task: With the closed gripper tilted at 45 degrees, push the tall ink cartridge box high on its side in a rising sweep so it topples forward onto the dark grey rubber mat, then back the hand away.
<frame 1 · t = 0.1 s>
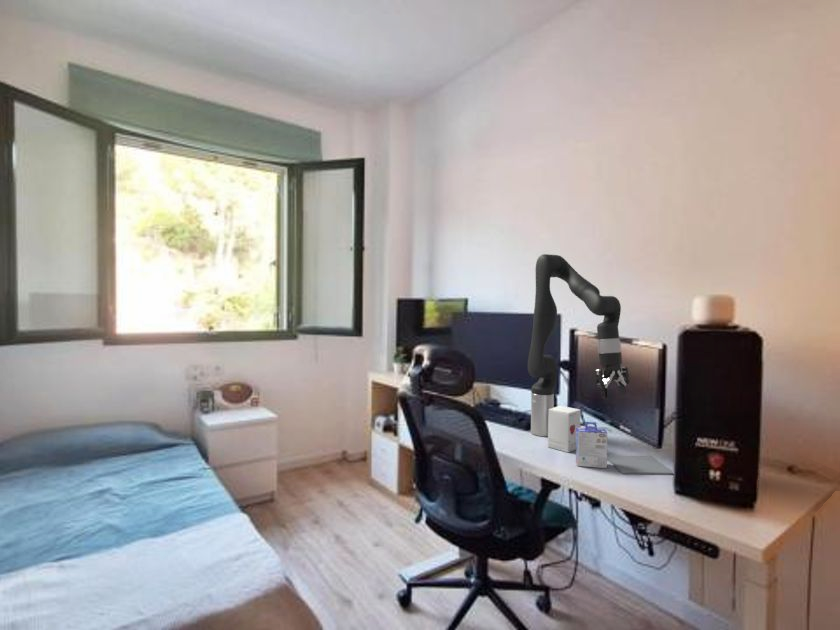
hand: (614, 397, 160), 22 cm above the table, tool pointing down, fingers open, 8 cm apart
ink cartridge box: (590, 465, 157), on the table
supplement box: (563, 448, 175), on the table
mat: (637, 465, 157), on the table
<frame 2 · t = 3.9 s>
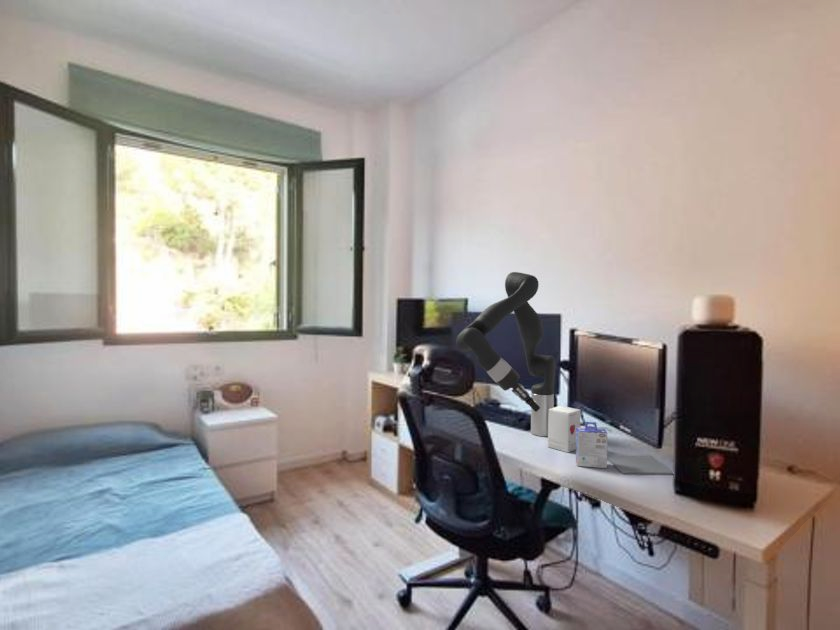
hand: (537, 409, 157), 19 cm above the table, tool tilted 45°, fingers closed
nothing on the table moved.
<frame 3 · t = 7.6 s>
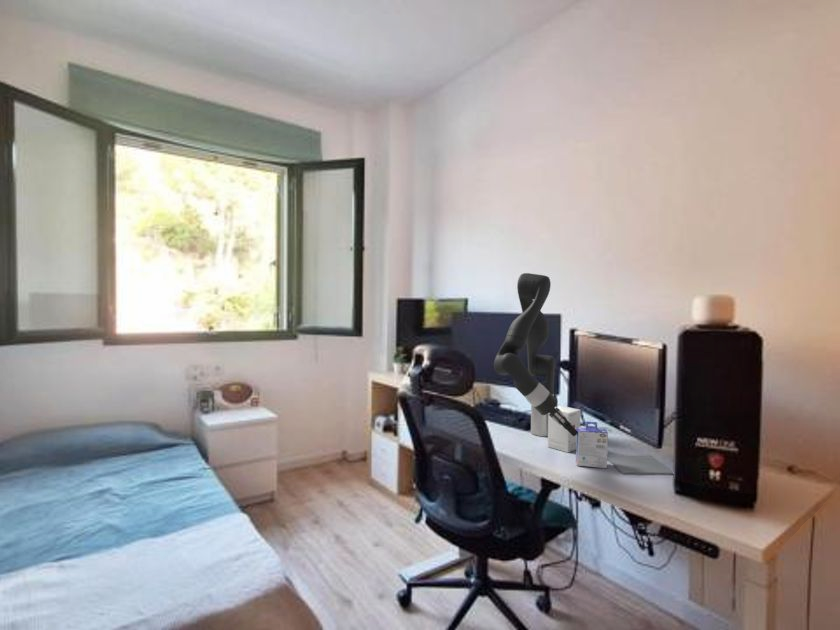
hand: (575, 433, 157), 11 cm above the table, tool tilted 45°, fingers closed
ink cartridge box: (590, 465, 157), on the table, touching gripper
everything else where it was.
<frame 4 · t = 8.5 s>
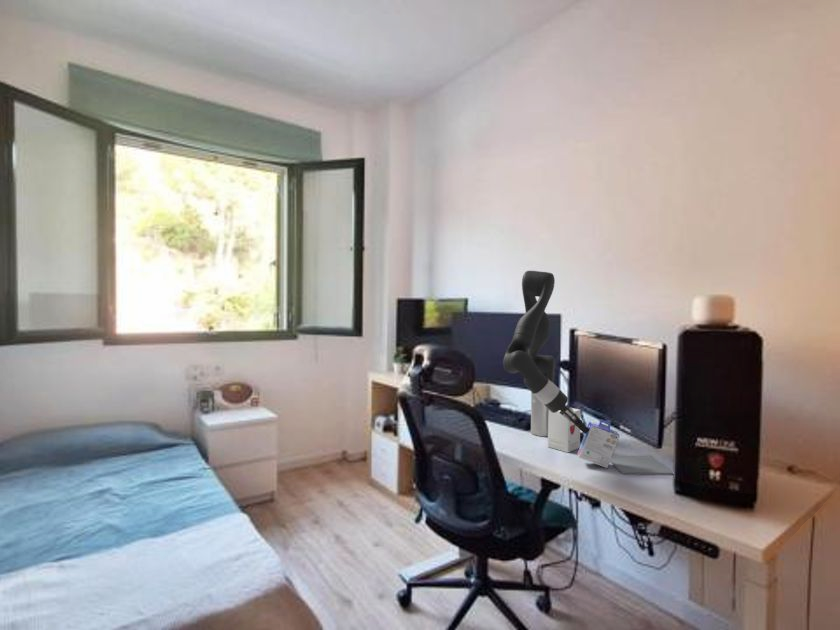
hand: (586, 431, 156), 12 cm above the table, tool tilted 45°, fingers closed
ink cartridge box: (591, 461, 157), point 1 cm above the table, touching gripper
everything else where it was.
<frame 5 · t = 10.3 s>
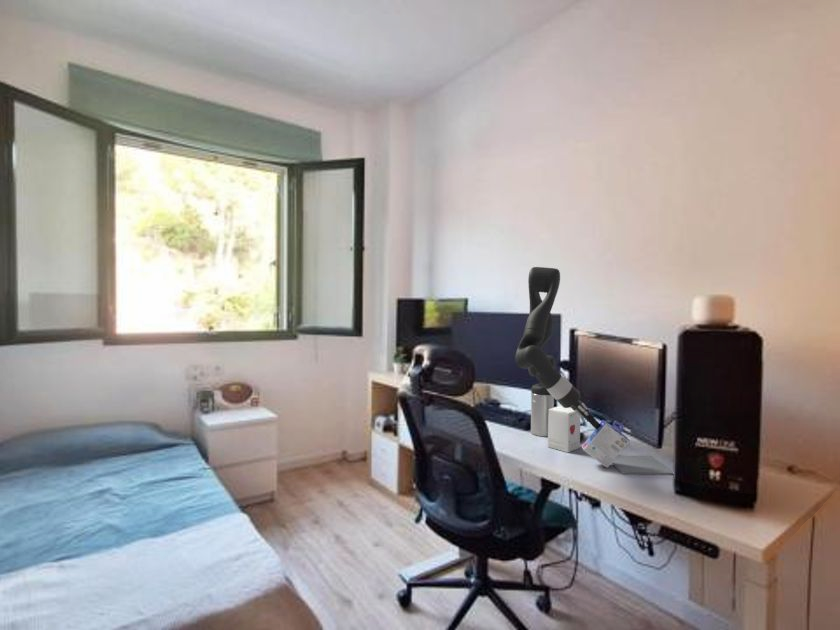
hand: (598, 426, 157), 13 cm above the table, tool tilted 45°, fingers closed
ink cartridge box: (593, 457, 157), point 3 cm above the table
everything else where it was.
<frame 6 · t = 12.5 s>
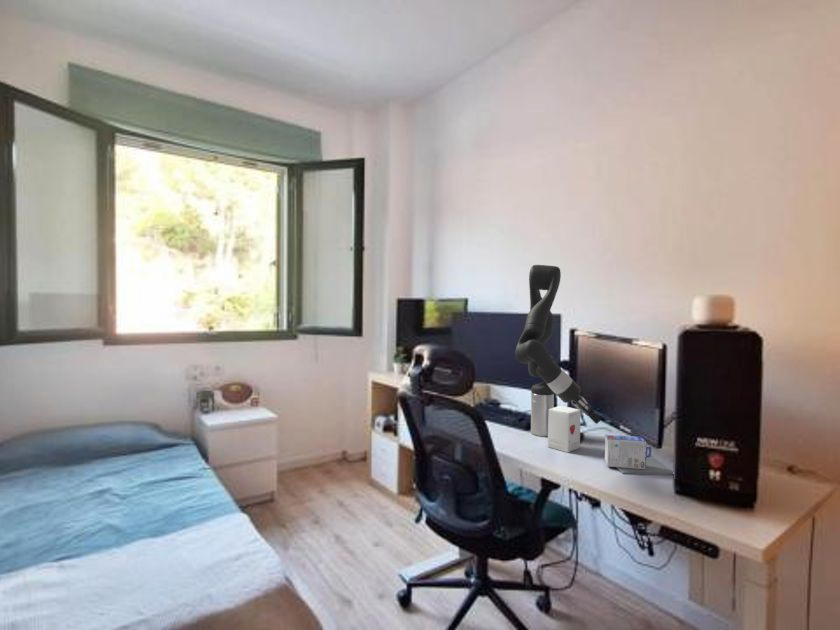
hand: (598, 421, 156), 15 cm above the table, tool tilted 45°, fingers closed
ink cartridge box: (605, 449, 156), point 6 cm above the table, touching mat
everything else where it was.
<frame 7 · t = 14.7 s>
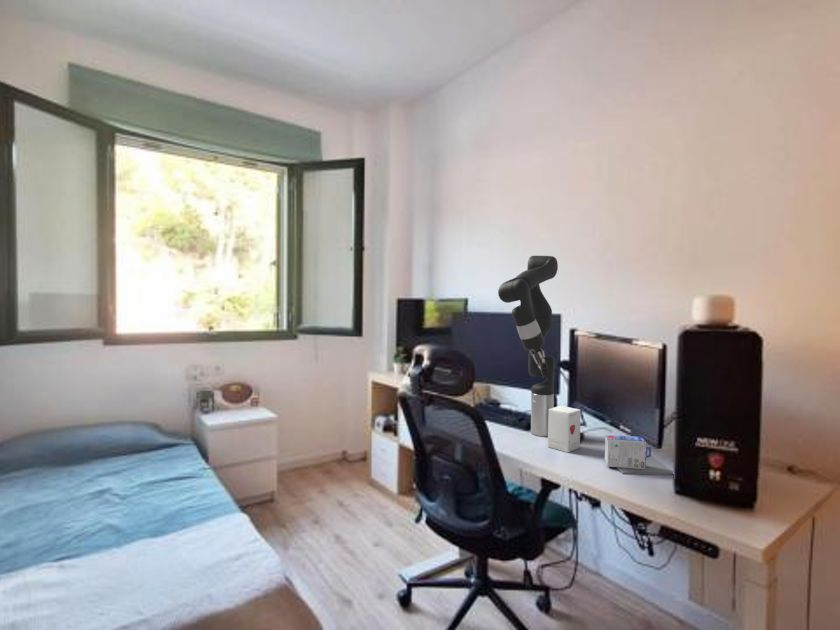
hand: (546, 376, 163), 29 cm above the table, tool tilted 25°, fingers closed
nothing on the table moved.
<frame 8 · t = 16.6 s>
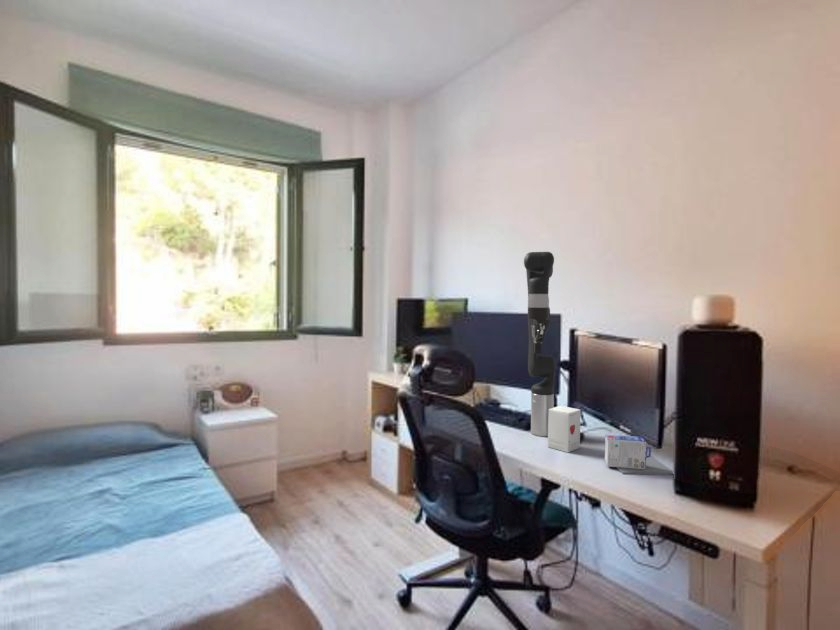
hand: (537, 353, 168), 37 cm above the table, tool pointing down, fingers closed
nothing on the table moved.
at the end: ink cartridge box tilted 90°; ink cartridge box inside the target area (2.4 cm from its centre), point 5.5 cm above the table; ink cartridge box touching mat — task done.
